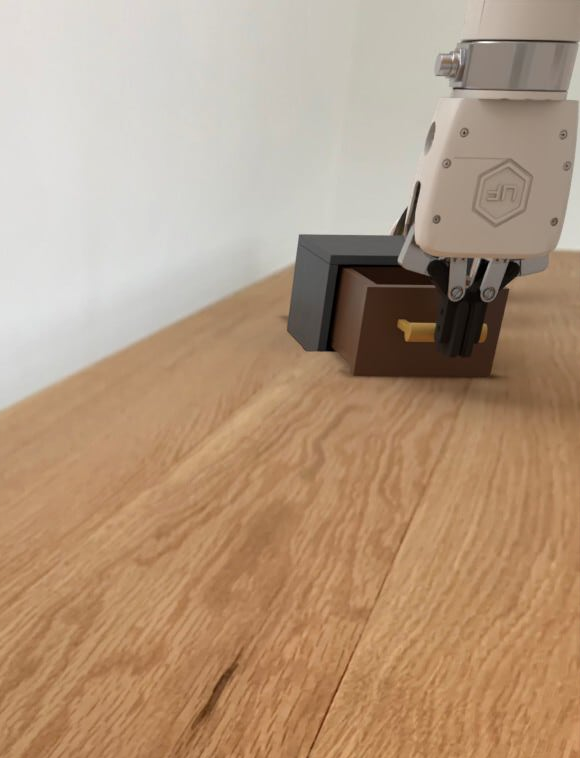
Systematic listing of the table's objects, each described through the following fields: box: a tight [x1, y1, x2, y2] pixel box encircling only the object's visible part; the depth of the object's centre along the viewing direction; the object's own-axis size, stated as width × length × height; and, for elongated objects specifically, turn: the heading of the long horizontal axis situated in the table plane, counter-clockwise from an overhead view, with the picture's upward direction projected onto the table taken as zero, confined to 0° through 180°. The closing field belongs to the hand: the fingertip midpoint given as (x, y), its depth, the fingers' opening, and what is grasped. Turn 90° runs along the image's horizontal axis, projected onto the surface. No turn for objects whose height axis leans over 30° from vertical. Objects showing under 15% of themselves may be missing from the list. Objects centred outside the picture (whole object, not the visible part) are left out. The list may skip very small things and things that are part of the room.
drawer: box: [327, 265, 510, 379], centre depth 94 cm, size 17×11×7 cm, turn 179°
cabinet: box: [286, 233, 473, 353], centre depth 106 cm, size 14×13×9 cm
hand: (453, 353), depth 85 cm, fingers closed
